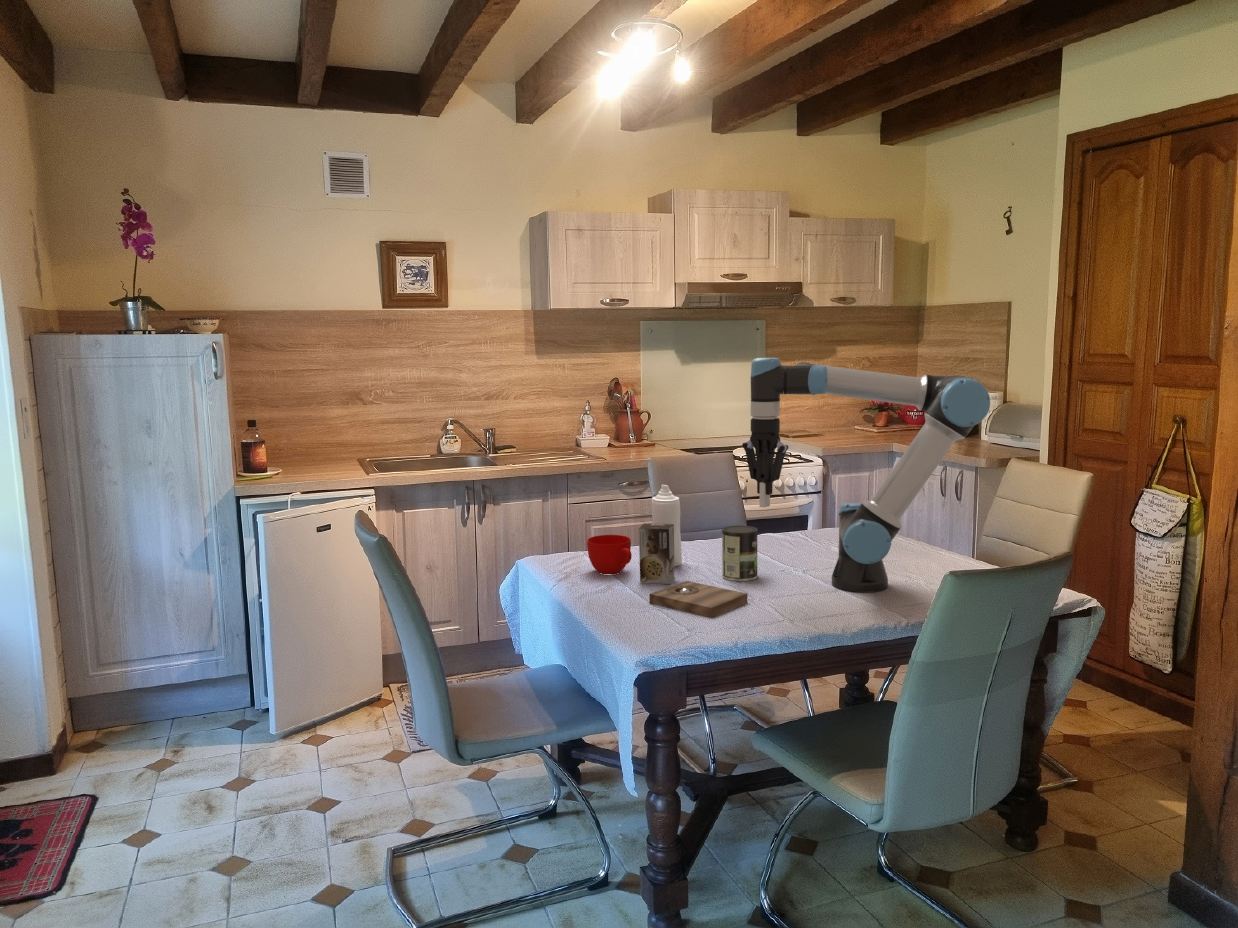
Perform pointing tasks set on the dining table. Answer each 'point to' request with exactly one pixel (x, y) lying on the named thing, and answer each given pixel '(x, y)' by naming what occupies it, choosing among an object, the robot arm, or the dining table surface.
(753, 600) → the dining table surface
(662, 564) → the coffee box
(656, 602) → the wooden board
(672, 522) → the spray can
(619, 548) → the ceramic cup
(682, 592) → the steel ball
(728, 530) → the coffee can
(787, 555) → the dining table surface
